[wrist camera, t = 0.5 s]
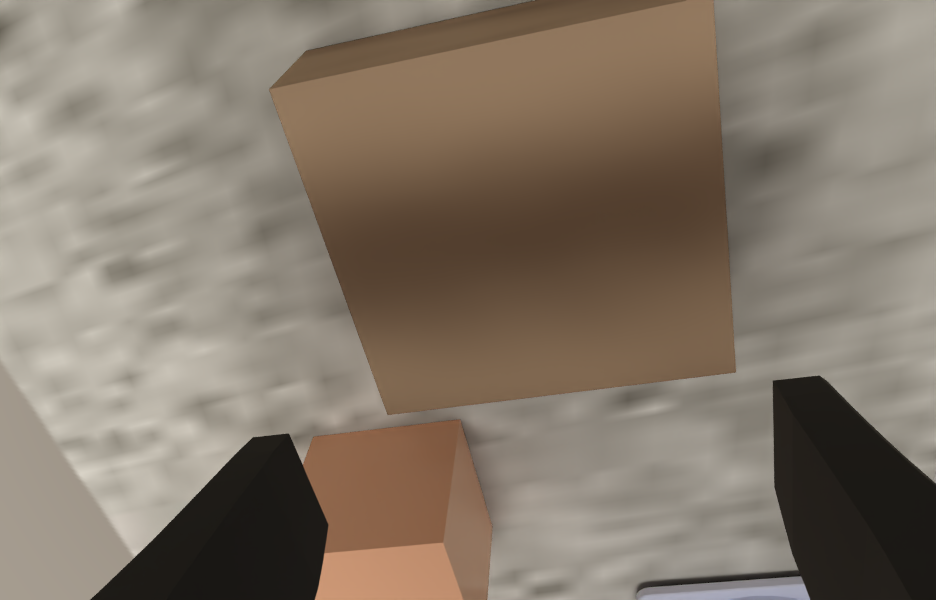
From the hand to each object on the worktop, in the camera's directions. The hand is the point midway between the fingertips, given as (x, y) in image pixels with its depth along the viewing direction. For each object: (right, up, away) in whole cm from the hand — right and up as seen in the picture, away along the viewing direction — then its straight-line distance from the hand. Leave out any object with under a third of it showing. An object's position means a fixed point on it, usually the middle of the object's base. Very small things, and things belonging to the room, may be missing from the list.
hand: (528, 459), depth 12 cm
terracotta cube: (-3, -4, +15) cm, 16 cm away
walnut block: (+1, +5, +9) cm, 10 cm away
